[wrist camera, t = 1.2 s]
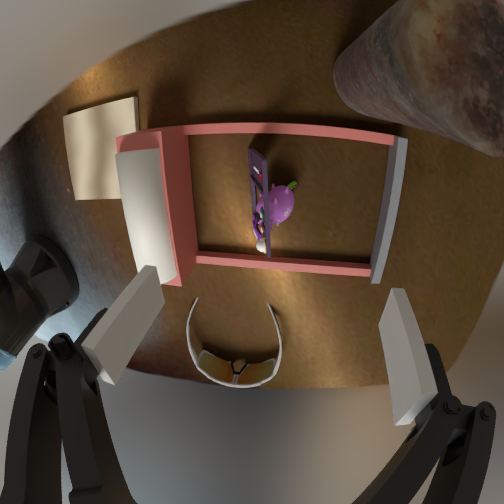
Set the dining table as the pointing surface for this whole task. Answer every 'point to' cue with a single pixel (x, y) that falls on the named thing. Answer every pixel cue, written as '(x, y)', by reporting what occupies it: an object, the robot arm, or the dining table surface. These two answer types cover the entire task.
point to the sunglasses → (225, 370)
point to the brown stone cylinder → (431, 70)
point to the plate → (98, 146)
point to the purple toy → (267, 201)
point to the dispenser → (182, 206)
